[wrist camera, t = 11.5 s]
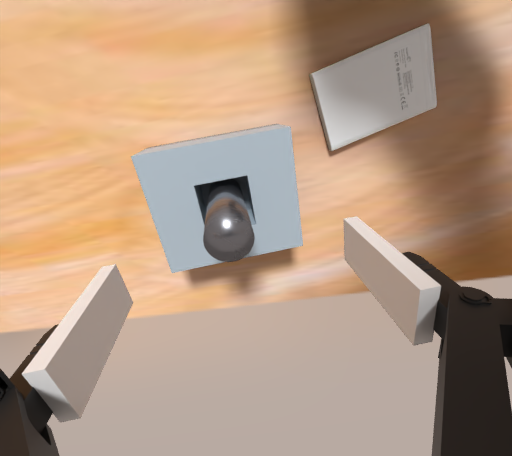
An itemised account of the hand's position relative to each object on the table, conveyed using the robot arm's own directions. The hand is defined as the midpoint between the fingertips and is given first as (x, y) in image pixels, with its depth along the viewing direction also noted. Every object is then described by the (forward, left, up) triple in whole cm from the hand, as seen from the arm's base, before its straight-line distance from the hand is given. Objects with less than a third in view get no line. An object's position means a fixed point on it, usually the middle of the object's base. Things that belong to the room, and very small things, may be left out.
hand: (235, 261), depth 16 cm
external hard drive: (-7, +18, -18) cm, 26 cm away
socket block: (0, 0, -17) cm, 17 cm away
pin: (0, 0, -16) cm, 16 cm away
